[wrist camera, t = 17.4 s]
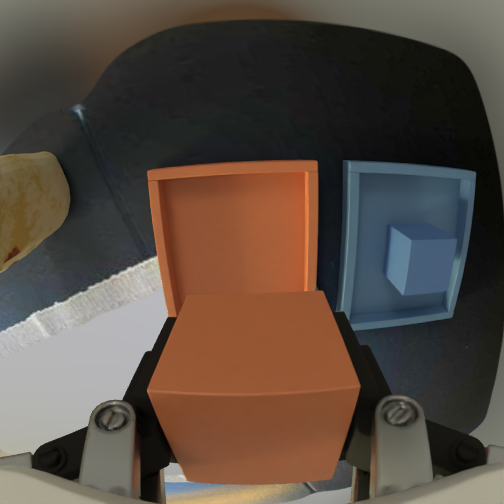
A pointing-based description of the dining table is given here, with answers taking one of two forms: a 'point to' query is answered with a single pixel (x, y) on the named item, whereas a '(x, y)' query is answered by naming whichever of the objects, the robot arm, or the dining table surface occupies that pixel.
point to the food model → (29, 203)
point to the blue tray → (375, 236)
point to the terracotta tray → (235, 228)
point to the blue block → (419, 258)
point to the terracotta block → (255, 389)
